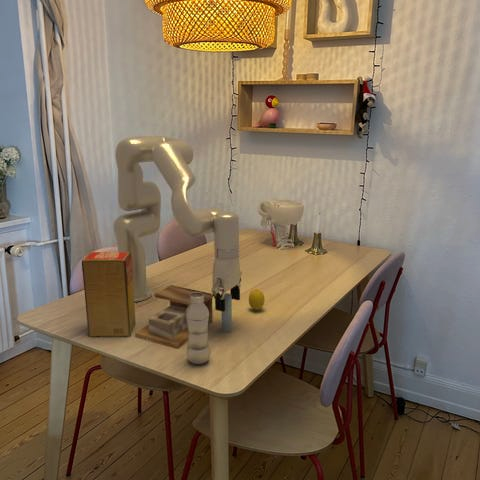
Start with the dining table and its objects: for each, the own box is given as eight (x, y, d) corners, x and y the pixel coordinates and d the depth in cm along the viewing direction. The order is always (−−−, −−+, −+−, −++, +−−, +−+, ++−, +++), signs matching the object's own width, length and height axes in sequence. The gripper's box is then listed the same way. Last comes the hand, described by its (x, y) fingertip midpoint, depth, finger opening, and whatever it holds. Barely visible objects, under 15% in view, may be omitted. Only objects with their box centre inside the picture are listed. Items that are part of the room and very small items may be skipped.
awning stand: (171, 311, 159) (170, 285, 157) (213, 322, 152) (213, 294, 149) (134, 336, 142) (132, 306, 140) (179, 348, 135) (178, 317, 132)
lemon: (254, 305, 165) (255, 284, 163) (267, 309, 162) (267, 288, 159) (245, 310, 161) (245, 289, 159) (257, 315, 157) (258, 293, 155)
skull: (307, 245, 237) (310, 202, 231) (293, 255, 222) (295, 208, 215) (264, 238, 249) (265, 197, 243) (248, 247, 233) (248, 203, 227)
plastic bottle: (198, 370, 124) (196, 301, 119) (181, 361, 129) (179, 294, 123) (215, 360, 129) (214, 294, 123) (198, 352, 133) (197, 288, 128)
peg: (219, 331, 146) (219, 296, 143) (224, 327, 149) (224, 292, 145) (228, 333, 145) (228, 298, 141) (233, 329, 147) (233, 294, 144)
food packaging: (136, 323, 151) (132, 250, 144) (130, 337, 142) (125, 260, 135) (95, 323, 151) (89, 250, 144) (87, 337, 141) (79, 260, 135)
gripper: (229, 244, 148) (230, 293, 153) (201, 258, 134) (203, 313, 138) (250, 246, 145) (250, 297, 150) (223, 262, 130) (225, 317, 135)
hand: (227, 304), depth 144 cm, fingers open, 9 cm apart
